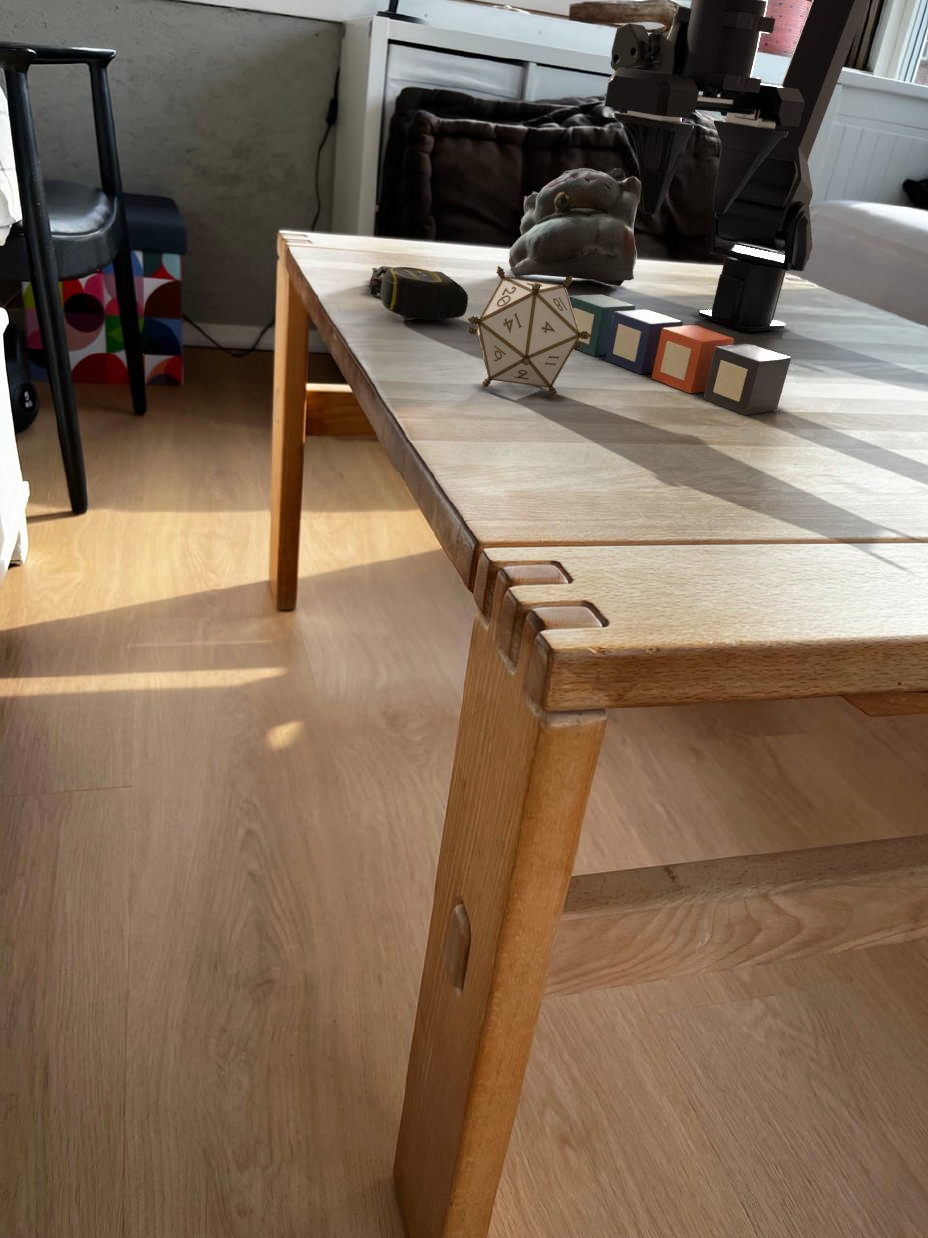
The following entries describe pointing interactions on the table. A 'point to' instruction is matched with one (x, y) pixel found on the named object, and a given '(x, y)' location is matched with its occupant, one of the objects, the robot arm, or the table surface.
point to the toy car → (377, 279)
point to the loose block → (687, 356)
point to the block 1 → (596, 320)
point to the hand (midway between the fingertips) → (685, 213)
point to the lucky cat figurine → (580, 228)
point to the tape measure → (422, 294)
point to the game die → (527, 332)
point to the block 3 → (746, 378)
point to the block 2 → (637, 339)
